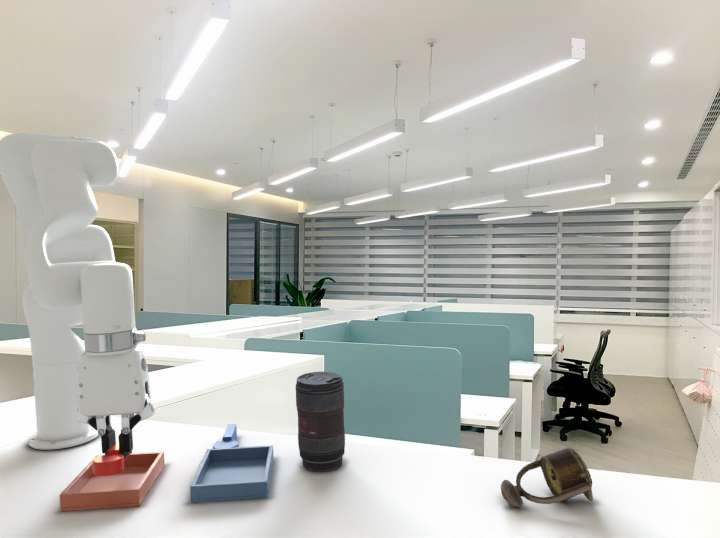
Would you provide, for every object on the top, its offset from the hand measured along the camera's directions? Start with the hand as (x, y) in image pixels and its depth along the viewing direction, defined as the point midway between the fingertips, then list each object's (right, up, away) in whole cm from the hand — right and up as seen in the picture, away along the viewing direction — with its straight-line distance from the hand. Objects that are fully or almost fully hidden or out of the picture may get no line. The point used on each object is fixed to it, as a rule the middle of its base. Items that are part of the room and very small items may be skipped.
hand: (118, 455), depth 93 cm
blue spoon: (+14, -3, +15) cm, 21 cm away
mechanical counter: (+65, -4, -8) cm, 66 cm away
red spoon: (0, -1, 0) cm, 1 cm away
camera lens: (+32, -4, +6) cm, 33 cm away
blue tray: (+18, -4, +1) cm, 19 cm away
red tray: (0, -5, 0) cm, 5 cm away
